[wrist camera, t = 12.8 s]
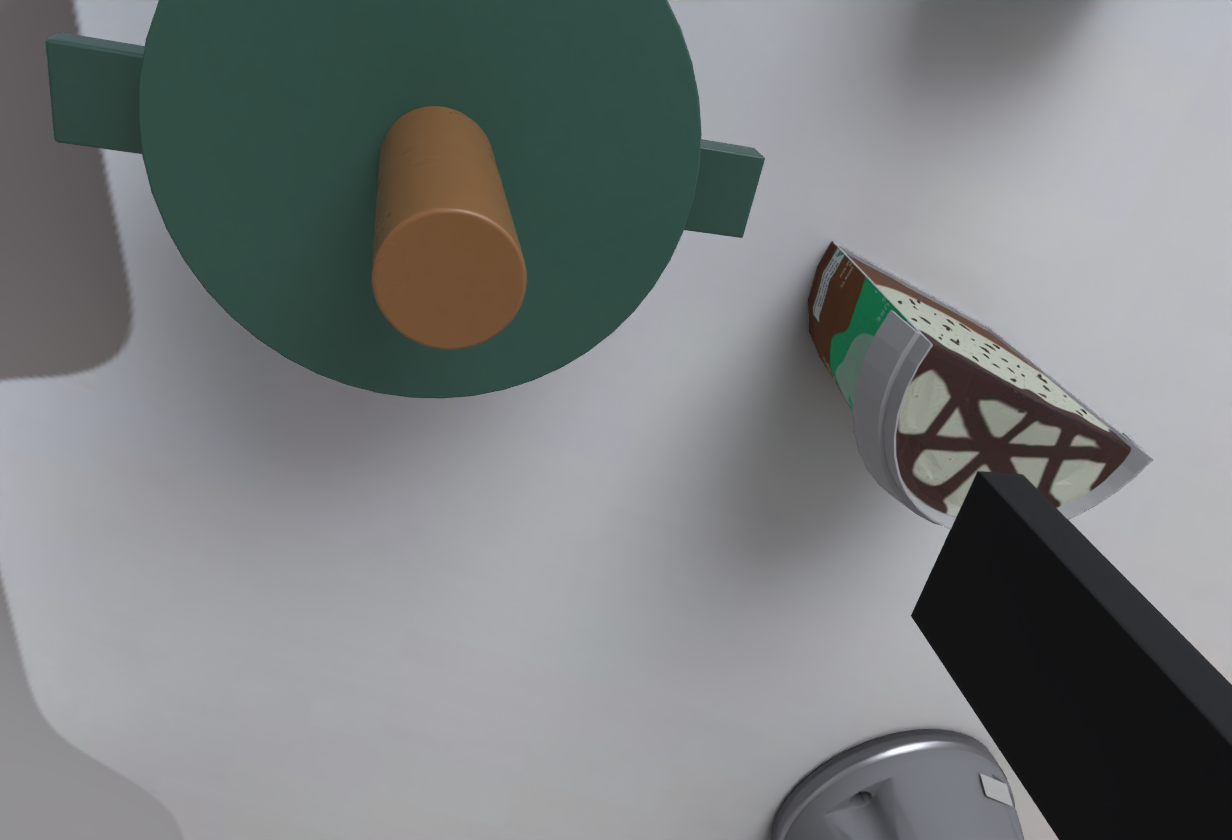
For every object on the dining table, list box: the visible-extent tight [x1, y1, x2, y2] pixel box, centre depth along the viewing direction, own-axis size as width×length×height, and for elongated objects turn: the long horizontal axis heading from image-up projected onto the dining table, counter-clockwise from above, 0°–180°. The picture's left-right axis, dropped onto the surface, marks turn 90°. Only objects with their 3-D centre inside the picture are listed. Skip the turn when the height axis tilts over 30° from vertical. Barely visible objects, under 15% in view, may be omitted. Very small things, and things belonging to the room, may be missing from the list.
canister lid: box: [138, 0, 701, 398], centre depth 21 cm, size 14×14×9 cm
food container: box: [808, 241, 1153, 529], centre depth 37 cm, size 12×6×10 cm, turn 60°
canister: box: [46, 33, 765, 238], centre depth 28 cm, size 13×18×10 cm
